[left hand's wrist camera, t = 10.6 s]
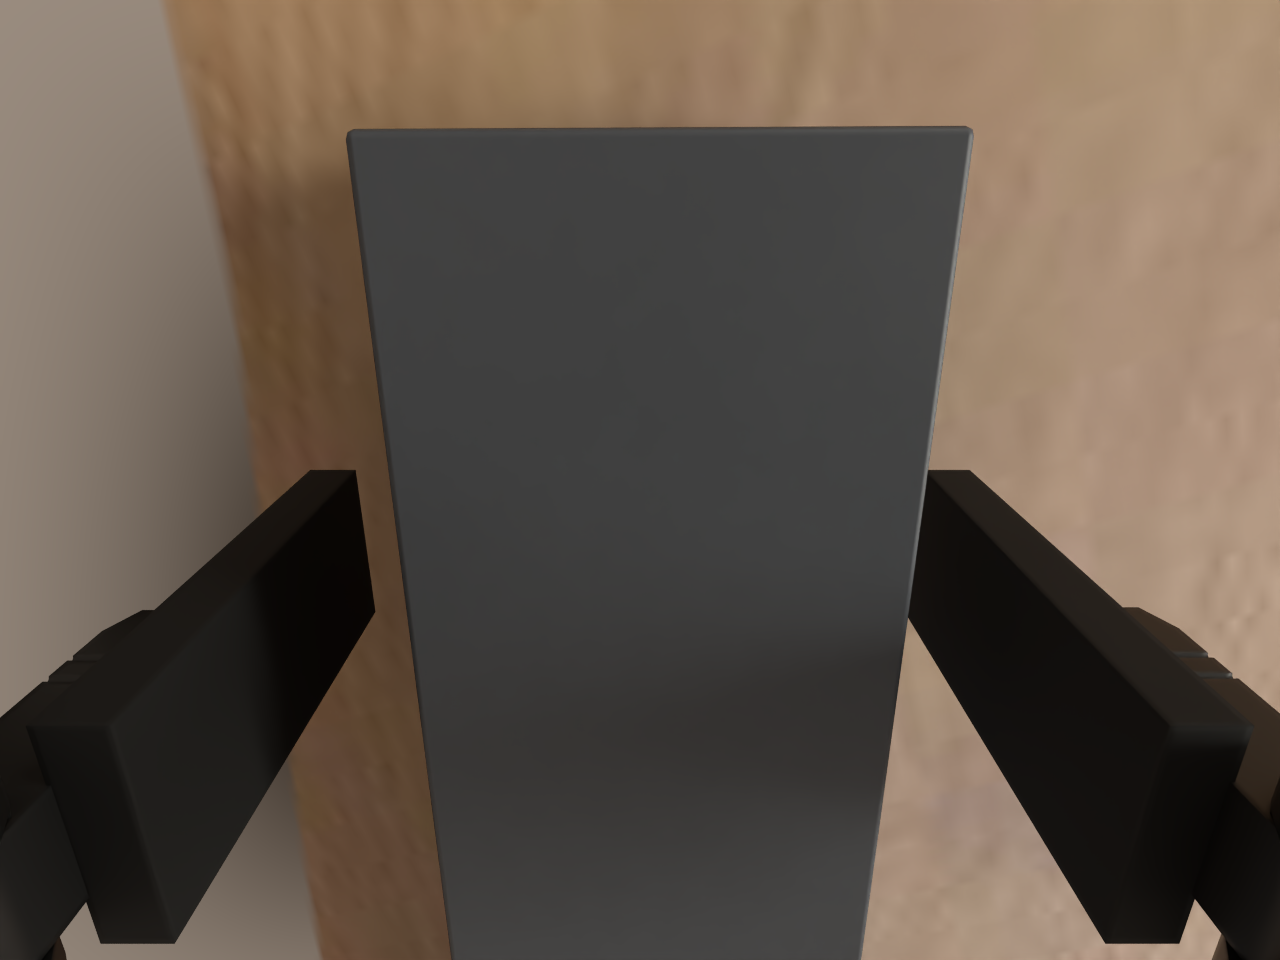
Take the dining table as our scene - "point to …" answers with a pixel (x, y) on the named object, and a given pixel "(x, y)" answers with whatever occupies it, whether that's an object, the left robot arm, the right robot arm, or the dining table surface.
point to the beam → (658, 514)
